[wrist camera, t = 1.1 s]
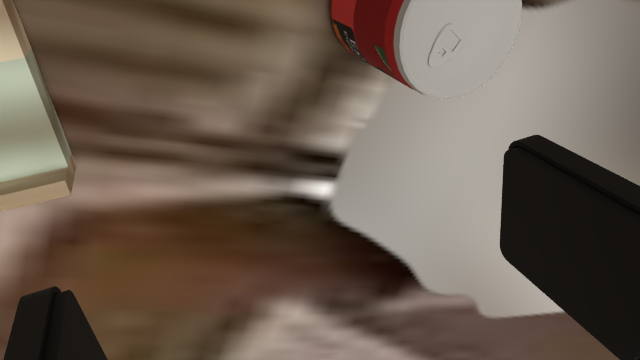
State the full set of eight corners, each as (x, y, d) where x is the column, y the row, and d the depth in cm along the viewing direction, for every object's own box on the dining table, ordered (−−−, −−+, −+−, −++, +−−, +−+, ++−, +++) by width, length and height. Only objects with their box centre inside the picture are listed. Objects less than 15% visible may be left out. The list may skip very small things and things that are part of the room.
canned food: (310, 38, 36) (376, 79, 27) (354, -77, 34) (442, -76, 24) (396, 71, 40) (479, 117, 30) (440, -31, 37) (547, -15, 28)
